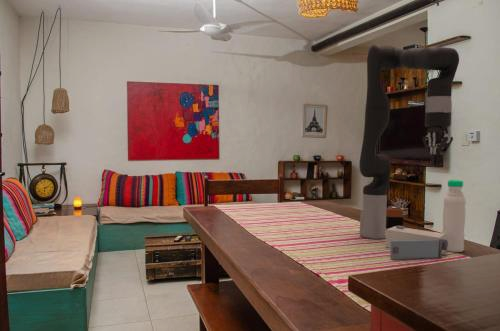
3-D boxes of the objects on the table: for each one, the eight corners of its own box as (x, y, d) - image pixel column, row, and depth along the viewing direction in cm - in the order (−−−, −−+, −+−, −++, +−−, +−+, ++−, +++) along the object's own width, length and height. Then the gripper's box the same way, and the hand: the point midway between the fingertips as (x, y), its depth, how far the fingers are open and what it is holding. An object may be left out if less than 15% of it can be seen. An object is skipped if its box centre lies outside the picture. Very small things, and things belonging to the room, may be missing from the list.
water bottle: (437, 248, 145) (439, 179, 144) (451, 246, 148) (454, 179, 146) (453, 253, 139) (456, 181, 137) (468, 251, 141) (471, 180, 140)
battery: (403, 230, 176) (404, 207, 175) (387, 229, 176) (388, 207, 176) (400, 228, 180) (400, 205, 180) (384, 227, 181) (385, 205, 180)
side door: (392, 259, 129) (392, 241, 129) (390, 258, 131) (390, 240, 131) (442, 258, 132) (443, 239, 132) (440, 256, 134) (440, 238, 133)
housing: (385, 247, 146) (386, 227, 145) (394, 243, 152) (395, 224, 151) (442, 257, 133) (443, 235, 133) (449, 253, 139) (450, 232, 139)
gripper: (415, 112, 133) (413, 164, 134) (440, 109, 120) (437, 167, 121) (436, 113, 135) (433, 165, 136) (463, 110, 122) (460, 167, 123)
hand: (435, 166), depth 129 cm, fingers closed
